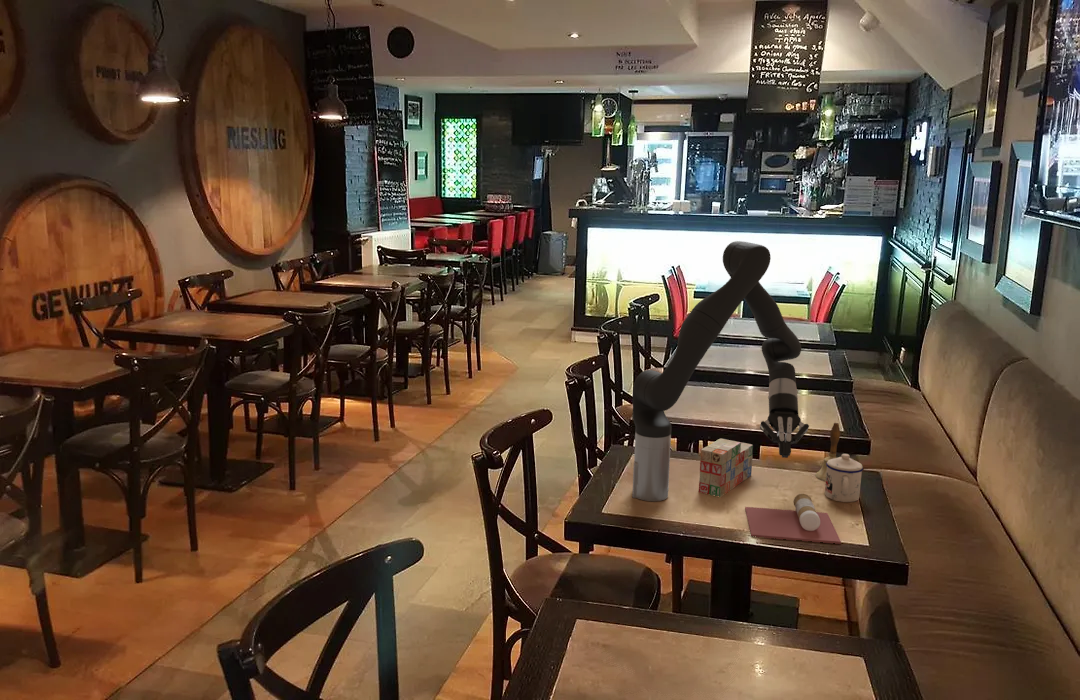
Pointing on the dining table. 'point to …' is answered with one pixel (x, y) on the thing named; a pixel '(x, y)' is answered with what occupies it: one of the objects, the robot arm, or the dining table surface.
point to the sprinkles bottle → (806, 512)
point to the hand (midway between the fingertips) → (785, 456)
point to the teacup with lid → (843, 479)
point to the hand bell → (834, 440)
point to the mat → (788, 526)
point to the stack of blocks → (724, 466)
